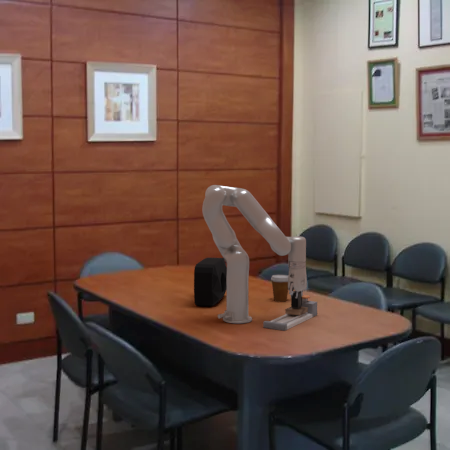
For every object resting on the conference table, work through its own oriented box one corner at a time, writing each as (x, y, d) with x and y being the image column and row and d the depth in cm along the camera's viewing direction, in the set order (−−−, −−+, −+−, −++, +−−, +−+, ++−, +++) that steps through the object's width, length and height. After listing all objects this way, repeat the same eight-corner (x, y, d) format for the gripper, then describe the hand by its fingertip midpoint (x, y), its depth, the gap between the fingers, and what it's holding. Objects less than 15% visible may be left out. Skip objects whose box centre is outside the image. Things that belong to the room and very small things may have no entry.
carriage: (299, 315, 308) (300, 295, 307) (285, 313, 311) (285, 293, 310) (307, 311, 314) (307, 291, 313) (293, 309, 318) (293, 290, 317)
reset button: (307, 302, 316) (307, 297, 316) (298, 301, 319) (298, 296, 318) (311, 300, 320) (311, 295, 320) (302, 299, 322) (302, 294, 322)
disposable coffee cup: (274, 303, 344) (274, 278, 343) (268, 298, 353) (268, 275, 352) (292, 301, 347) (293, 277, 345) (286, 297, 356) (286, 274, 354)
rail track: (284, 330, 292) (284, 316, 292) (263, 327, 298) (263, 313, 297) (317, 314, 320) (317, 301, 319) (297, 312, 325) (297, 299, 324)
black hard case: (208, 294, 364) (207, 255, 362) (231, 295, 362) (231, 256, 359) (193, 307, 335) (193, 265, 332) (219, 308, 332) (218, 266, 330)
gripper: (296, 268, 302) (296, 310, 304) (312, 262, 315) (312, 303, 317) (280, 266, 305) (280, 308, 308) (297, 261, 319) (297, 301, 321)
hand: (296, 305), depth 312 cm, fingers closed on carriage, 3 cm apart
